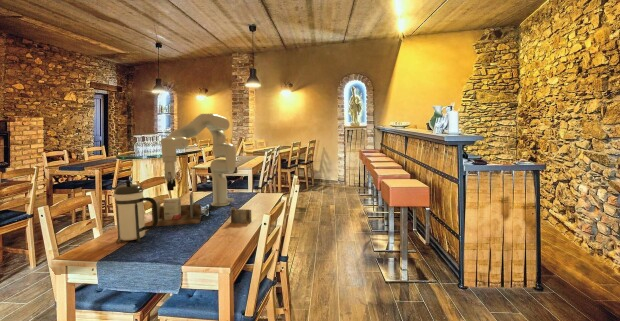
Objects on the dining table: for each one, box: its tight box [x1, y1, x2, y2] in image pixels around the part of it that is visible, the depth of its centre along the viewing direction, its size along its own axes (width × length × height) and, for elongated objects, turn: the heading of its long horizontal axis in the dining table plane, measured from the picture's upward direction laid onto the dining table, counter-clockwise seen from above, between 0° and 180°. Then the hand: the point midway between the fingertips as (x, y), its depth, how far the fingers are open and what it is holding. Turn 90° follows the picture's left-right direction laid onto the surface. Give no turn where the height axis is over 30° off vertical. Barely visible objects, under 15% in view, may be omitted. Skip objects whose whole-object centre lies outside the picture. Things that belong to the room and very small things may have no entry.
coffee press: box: [111, 179, 158, 244], centre depth 175 cm, size 17×16×30 cm
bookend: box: [189, 191, 202, 219], centre depth 210 cm, size 5×9×14 cm, turn 14°
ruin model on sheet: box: [230, 206, 252, 224], centre depth 204 cm, size 11×3×10 cm, turn 83°
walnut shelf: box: [151, 198, 202, 227], centre depth 208 cm, size 25×16×12 cm, turn 104°
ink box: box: [162, 197, 182, 220], centre depth 207 cm, size 9×5×12 cm, turn 90°
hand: (171, 188), depth 206 cm, fingers open, 9 cm apart
